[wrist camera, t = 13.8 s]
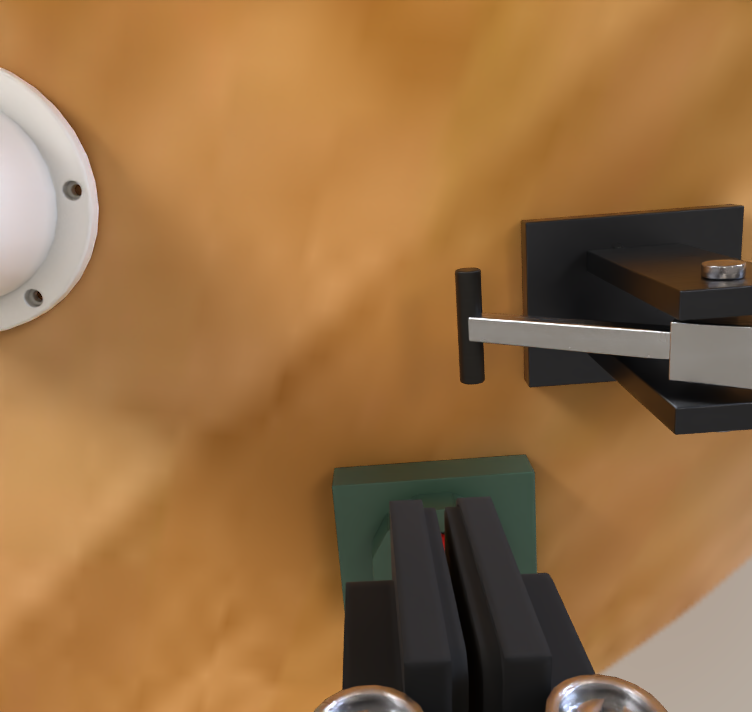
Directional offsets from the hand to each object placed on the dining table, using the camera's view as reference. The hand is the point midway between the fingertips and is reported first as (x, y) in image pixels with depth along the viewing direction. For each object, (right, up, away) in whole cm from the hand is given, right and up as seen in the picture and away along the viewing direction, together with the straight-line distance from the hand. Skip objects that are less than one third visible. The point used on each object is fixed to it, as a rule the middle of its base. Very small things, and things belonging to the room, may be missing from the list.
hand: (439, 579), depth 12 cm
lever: (+8, +5, +17) cm, 20 cm away
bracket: (+11, +7, +23) cm, 27 cm away
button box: (+2, -6, +27) cm, 27 cm away
